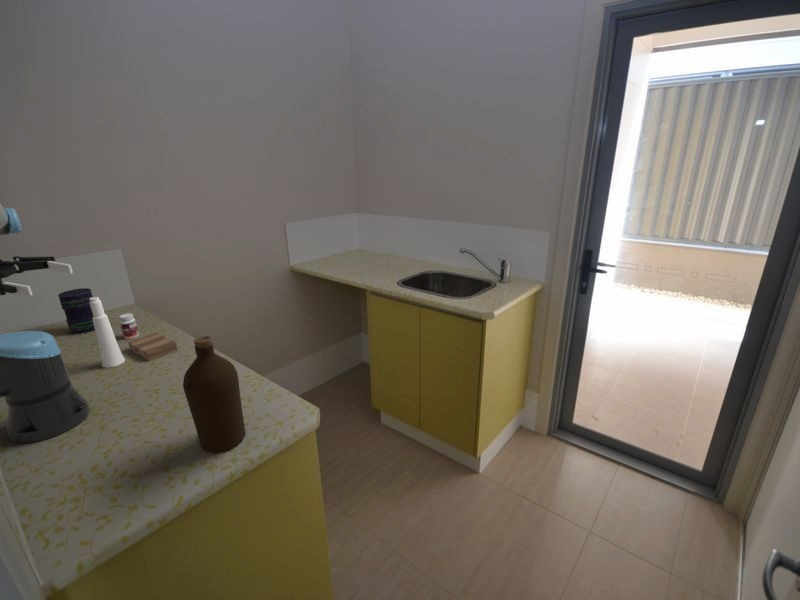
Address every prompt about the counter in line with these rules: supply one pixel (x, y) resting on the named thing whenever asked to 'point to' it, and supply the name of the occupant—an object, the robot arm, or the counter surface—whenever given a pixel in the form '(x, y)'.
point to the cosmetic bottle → (105, 336)
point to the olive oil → (214, 399)
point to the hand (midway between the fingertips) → (51, 279)
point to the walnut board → (152, 346)
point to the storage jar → (78, 310)
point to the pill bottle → (128, 326)
